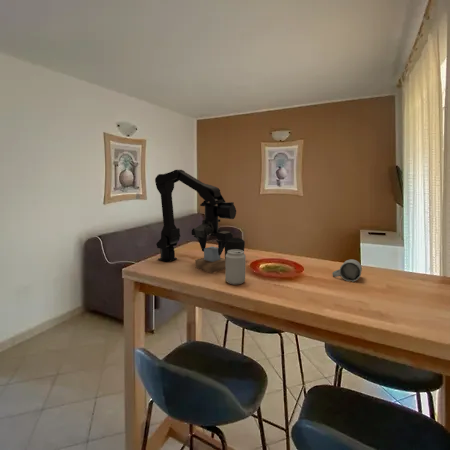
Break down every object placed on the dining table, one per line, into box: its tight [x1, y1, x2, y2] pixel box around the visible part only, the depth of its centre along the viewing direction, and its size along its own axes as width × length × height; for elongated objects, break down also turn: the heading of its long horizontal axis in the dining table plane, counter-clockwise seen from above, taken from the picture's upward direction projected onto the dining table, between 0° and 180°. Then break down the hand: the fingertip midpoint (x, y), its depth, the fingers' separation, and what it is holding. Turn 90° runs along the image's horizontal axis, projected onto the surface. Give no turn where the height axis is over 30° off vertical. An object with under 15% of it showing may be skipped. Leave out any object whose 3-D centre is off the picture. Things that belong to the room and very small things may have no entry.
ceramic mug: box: [331, 259, 363, 283], centre depth 120 cm, size 11×8×8 cm
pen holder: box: [224, 237, 246, 259], centre depth 142 cm, size 9×9×10 cm
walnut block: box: [194, 257, 226, 274], centre depth 131 cm, size 10×10×4 cm
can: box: [224, 249, 247, 286], centre depth 114 cm, size 8×8×12 cm
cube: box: [203, 246, 221, 262], centre depth 131 cm, size 5×5×5 cm
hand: (211, 253), depth 130 cm, fingers open, 9 cm apart
